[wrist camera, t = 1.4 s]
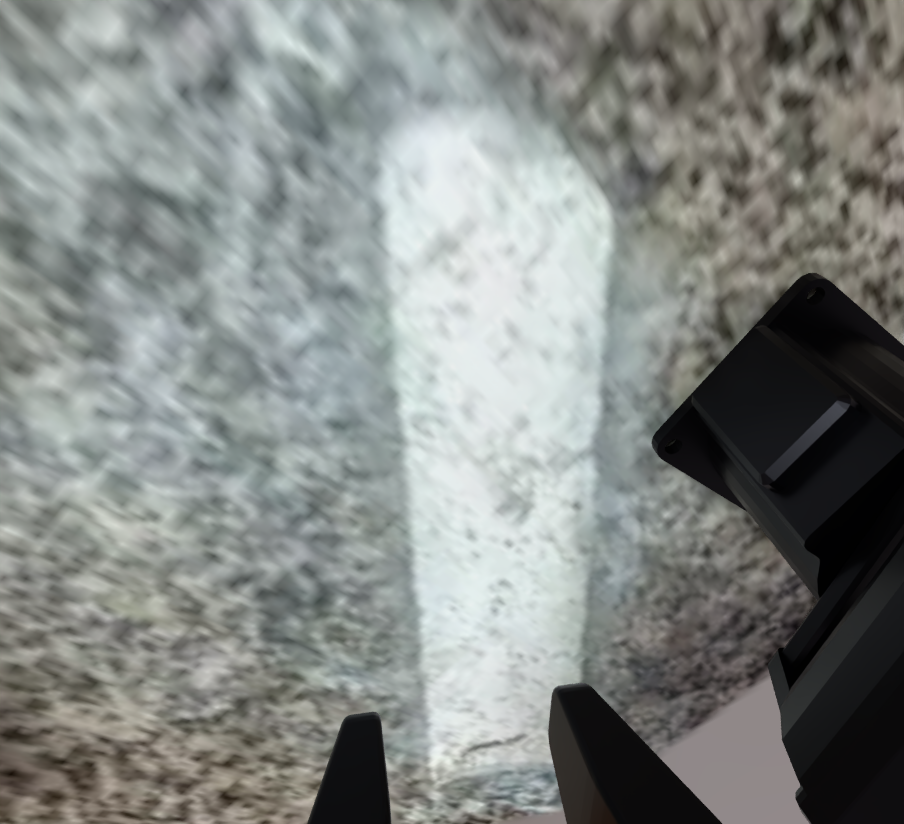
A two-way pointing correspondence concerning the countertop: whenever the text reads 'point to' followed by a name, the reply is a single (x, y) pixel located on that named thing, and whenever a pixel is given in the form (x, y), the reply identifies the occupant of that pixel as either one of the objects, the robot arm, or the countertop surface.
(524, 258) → the countertop surface
